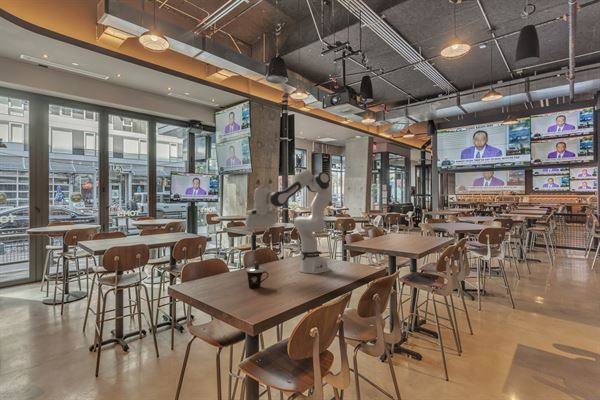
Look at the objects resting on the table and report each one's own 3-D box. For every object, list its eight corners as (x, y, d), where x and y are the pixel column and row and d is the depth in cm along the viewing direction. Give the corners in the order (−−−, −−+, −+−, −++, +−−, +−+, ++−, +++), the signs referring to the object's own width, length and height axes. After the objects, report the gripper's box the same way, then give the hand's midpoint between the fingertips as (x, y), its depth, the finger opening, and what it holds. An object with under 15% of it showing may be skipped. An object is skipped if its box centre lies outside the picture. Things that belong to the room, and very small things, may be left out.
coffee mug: (244, 288, 172) (244, 271, 171) (251, 284, 180) (251, 267, 180) (262, 290, 168) (262, 272, 168) (269, 286, 176) (269, 269, 176)
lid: (262, 266, 182) (262, 259, 182) (270, 271, 171) (270, 262, 171) (243, 269, 176) (243, 261, 176) (250, 273, 165) (250, 265, 165)
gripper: (273, 210, 207) (273, 230, 207) (244, 211, 197) (244, 232, 197) (276, 211, 201) (277, 231, 202) (247, 211, 191) (248, 233, 192)
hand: (260, 232), depth 199 cm, fingers open, 8 cm apart
